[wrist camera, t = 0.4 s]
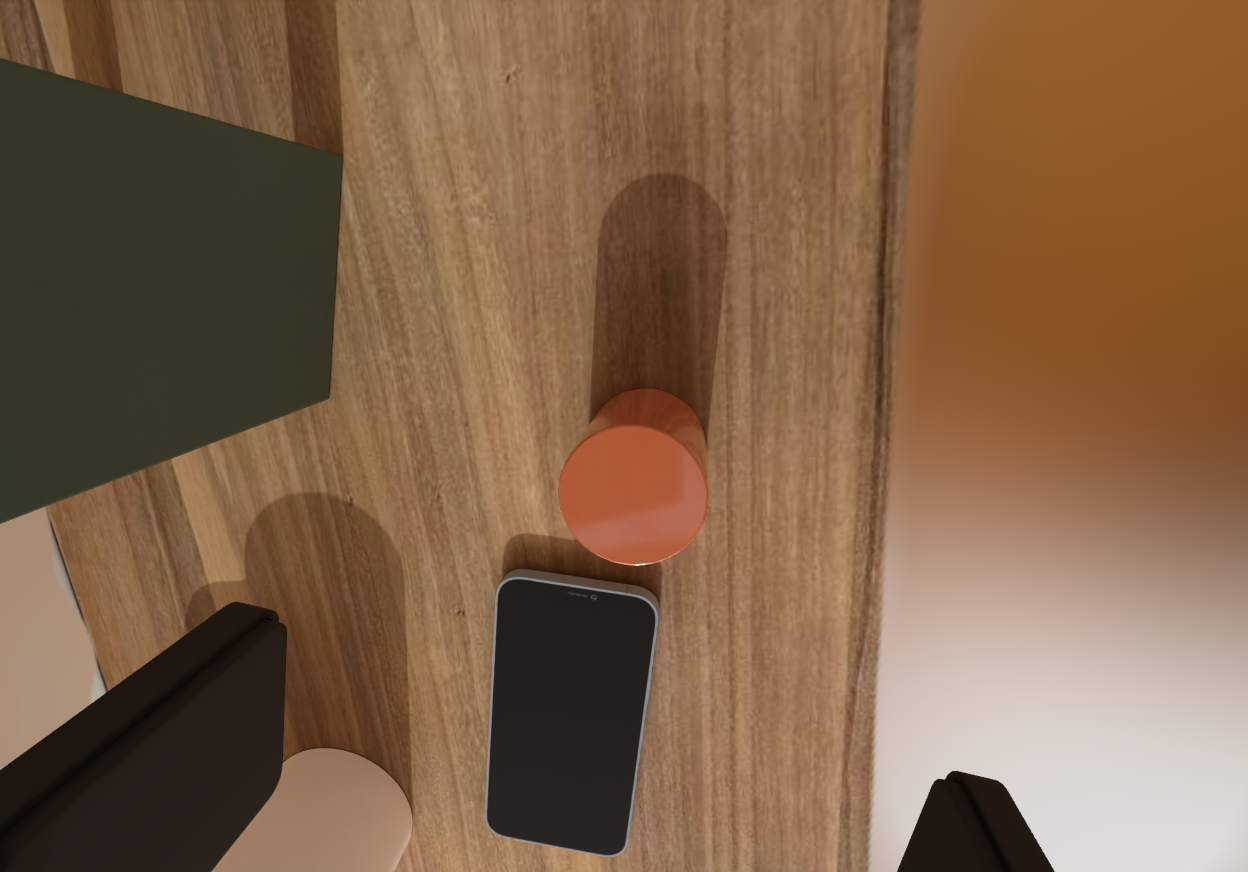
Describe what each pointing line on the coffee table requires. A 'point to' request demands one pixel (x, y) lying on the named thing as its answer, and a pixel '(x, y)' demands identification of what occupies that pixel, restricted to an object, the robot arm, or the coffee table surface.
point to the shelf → (150, 283)
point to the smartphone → (567, 709)
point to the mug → (326, 819)
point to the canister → (637, 479)
